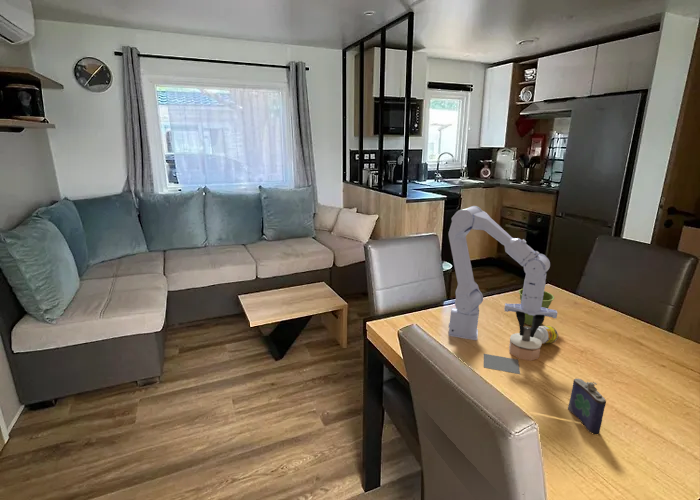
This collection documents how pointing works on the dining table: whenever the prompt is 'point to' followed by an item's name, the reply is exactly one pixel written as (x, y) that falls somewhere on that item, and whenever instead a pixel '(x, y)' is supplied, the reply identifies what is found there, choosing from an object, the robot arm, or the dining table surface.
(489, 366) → the mat
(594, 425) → the flask
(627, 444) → the dining table surface
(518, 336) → the lid
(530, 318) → the plant pot
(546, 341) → the supplement bottle
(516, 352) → the bowl
